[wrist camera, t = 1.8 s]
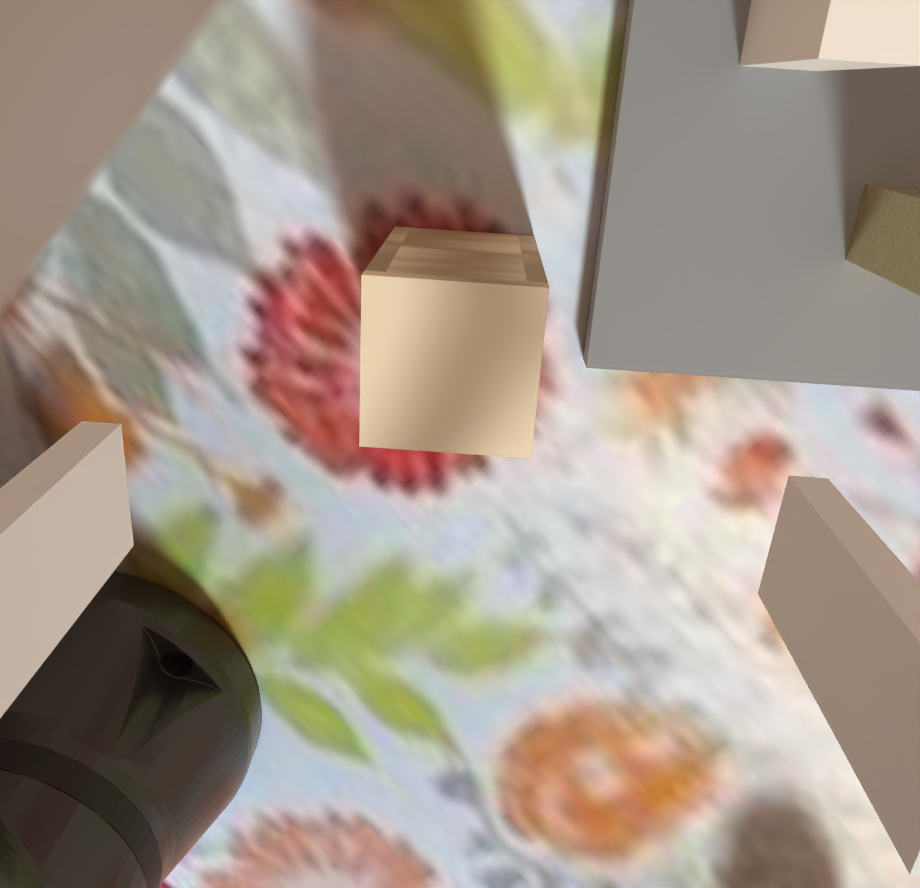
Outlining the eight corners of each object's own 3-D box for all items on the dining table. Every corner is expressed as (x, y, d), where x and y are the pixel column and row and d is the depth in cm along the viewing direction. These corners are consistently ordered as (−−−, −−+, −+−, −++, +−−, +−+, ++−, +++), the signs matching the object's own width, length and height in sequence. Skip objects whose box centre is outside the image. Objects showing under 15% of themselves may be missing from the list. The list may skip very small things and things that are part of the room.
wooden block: (391, 359, 32) (359, 446, 24) (395, 226, 30) (361, 274, 22) (521, 368, 32) (530, 458, 24) (534, 235, 30) (549, 287, 22)
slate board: (582, 358, 32) (586, 367, 31) (645, -126, 26) (652, -136, 24) (988, 386, 32) (1005, 396, 31) (1153, -93, 25) (1183, -102, 24)
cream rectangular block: (739, 65, 27) (818, 58, 20) (755, -25, 26) (844, -63, 19) (818, 70, 27) (922, 65, 20) (838, -20, 26) (954, -56, 19)
